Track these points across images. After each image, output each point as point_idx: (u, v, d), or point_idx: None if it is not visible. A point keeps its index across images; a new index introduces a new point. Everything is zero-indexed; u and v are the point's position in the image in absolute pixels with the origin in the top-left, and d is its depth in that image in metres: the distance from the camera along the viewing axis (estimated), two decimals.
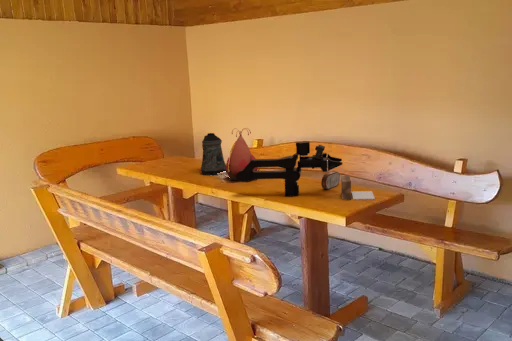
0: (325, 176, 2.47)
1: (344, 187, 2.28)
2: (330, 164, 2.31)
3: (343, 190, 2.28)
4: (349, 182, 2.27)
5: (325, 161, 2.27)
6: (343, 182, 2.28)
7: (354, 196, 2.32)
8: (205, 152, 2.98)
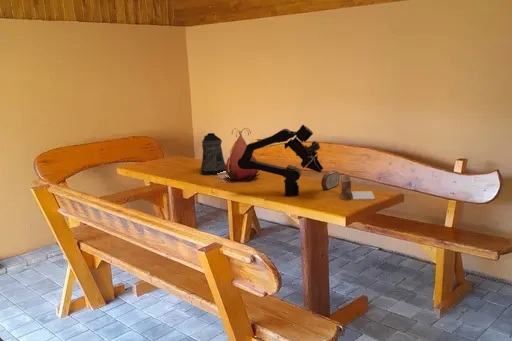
0: (325, 176, 2.47)
1: (344, 187, 2.28)
2: (311, 164, 2.32)
3: (343, 190, 2.28)
4: (349, 182, 2.27)
5: (309, 159, 2.27)
6: (343, 182, 2.28)
7: (354, 196, 2.32)
8: (205, 152, 2.98)
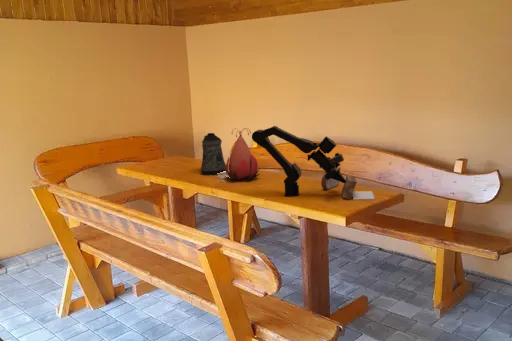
0: None
1: (348, 185, 2.28)
2: (336, 175, 2.33)
3: (347, 188, 2.28)
4: (354, 182, 2.27)
5: (333, 172, 2.25)
6: (349, 181, 2.27)
7: (354, 196, 2.32)
8: (205, 152, 2.98)
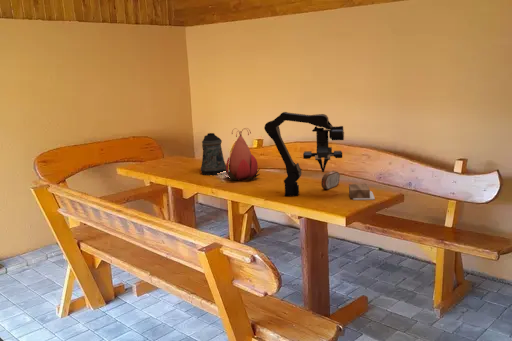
0: (325, 176, 2.47)
1: (363, 192, 2.27)
2: None
3: (360, 191, 2.27)
4: (368, 196, 2.27)
5: (303, 156, 2.34)
6: (368, 191, 2.27)
7: None
8: (205, 152, 2.98)
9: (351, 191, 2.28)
